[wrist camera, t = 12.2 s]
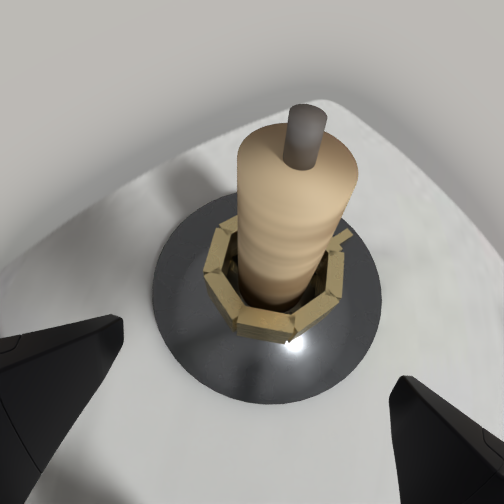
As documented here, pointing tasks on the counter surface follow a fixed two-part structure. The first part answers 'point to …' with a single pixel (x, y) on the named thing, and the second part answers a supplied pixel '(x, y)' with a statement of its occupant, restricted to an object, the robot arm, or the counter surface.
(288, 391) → the dial plate
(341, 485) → the counter surface
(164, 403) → the counter surface
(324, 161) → the driver handle
